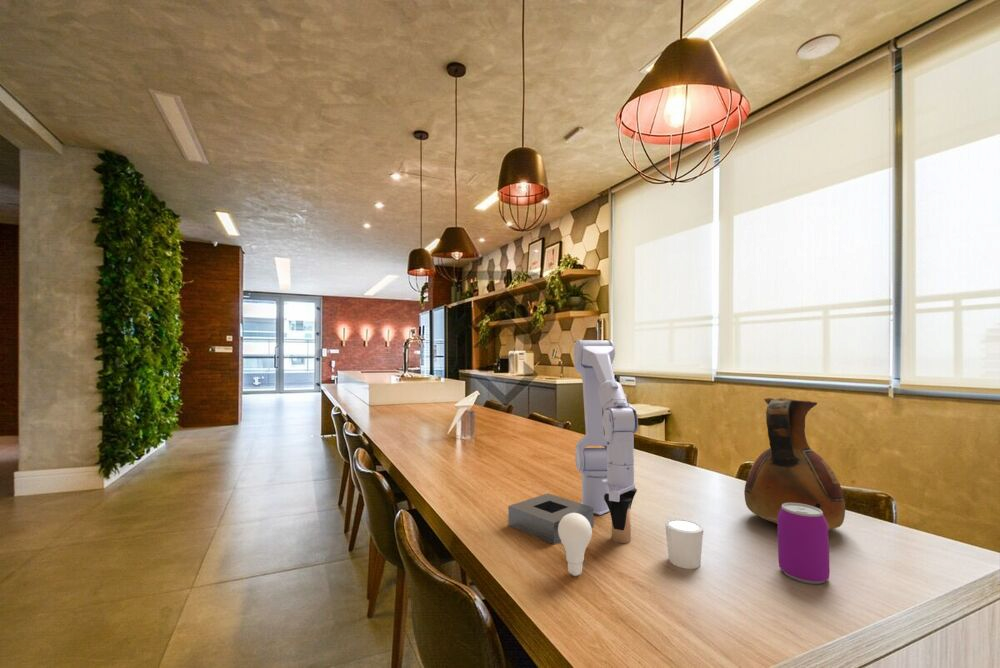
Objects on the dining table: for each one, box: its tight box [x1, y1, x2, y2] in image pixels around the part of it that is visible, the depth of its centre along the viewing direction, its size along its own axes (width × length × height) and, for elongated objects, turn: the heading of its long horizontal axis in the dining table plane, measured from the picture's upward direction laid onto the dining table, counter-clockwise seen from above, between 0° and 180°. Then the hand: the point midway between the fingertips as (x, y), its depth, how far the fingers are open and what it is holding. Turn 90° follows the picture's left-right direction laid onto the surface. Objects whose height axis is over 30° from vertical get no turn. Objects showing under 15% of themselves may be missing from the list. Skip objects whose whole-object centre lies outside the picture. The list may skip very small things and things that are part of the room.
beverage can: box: [777, 503, 831, 585], centre depth 80 cm, size 8×8×12 cm
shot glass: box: [664, 518, 704, 570], centre depth 85 cm, size 7×7×7 cm
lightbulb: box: [558, 513, 593, 577], centre depth 80 cm, size 6×6×11 cm
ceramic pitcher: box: [743, 397, 846, 531], centre depth 104 cm, size 20×20×30 cm
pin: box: [611, 504, 632, 544], centre depth 95 cm, size 4×4×8 cm
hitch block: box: [507, 493, 594, 545], centre depth 102 cm, size 14×14×4 cm
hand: (621, 525), depth 95 cm, fingers closed on pin, 4 cm apart
